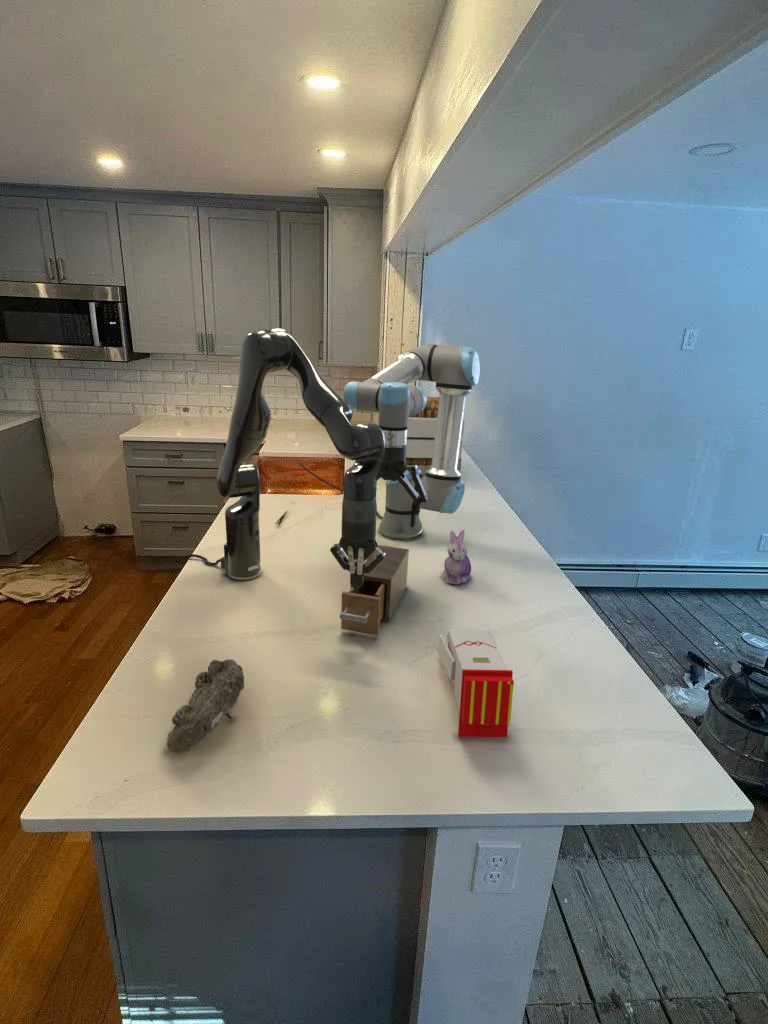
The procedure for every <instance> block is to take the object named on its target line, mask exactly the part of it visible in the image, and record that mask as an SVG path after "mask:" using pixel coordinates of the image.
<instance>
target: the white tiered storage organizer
mask: <svg viewBox="0 0 768 1024" xmlns="http://www.w3.org/2000/svg"><path fill="white" fill-rule="evenodd" d="M438 403H439V396H427V404H426V407H425V408H424V409H423V410H422V411H421V412H420V413H418V414H417V415H413V416H410V417H408V429H407V444H406V445H405V446H406V465H407V466H413V465H415V464H416V465H417V466H418V467H431V464H432V456H433V447H434V438H435V430H436V421H437V412H438ZM464 429H465V419H464V418H463V424H462V432H461V440H460V448H459V456H458V464H457V470H458V471H459V473H460V474H461V475H462V473H461V472H462V461H463V460H462V453H463V442H464V441H463V440H462V439H463V438H464V431H465V430H464Z"/></svg>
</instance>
